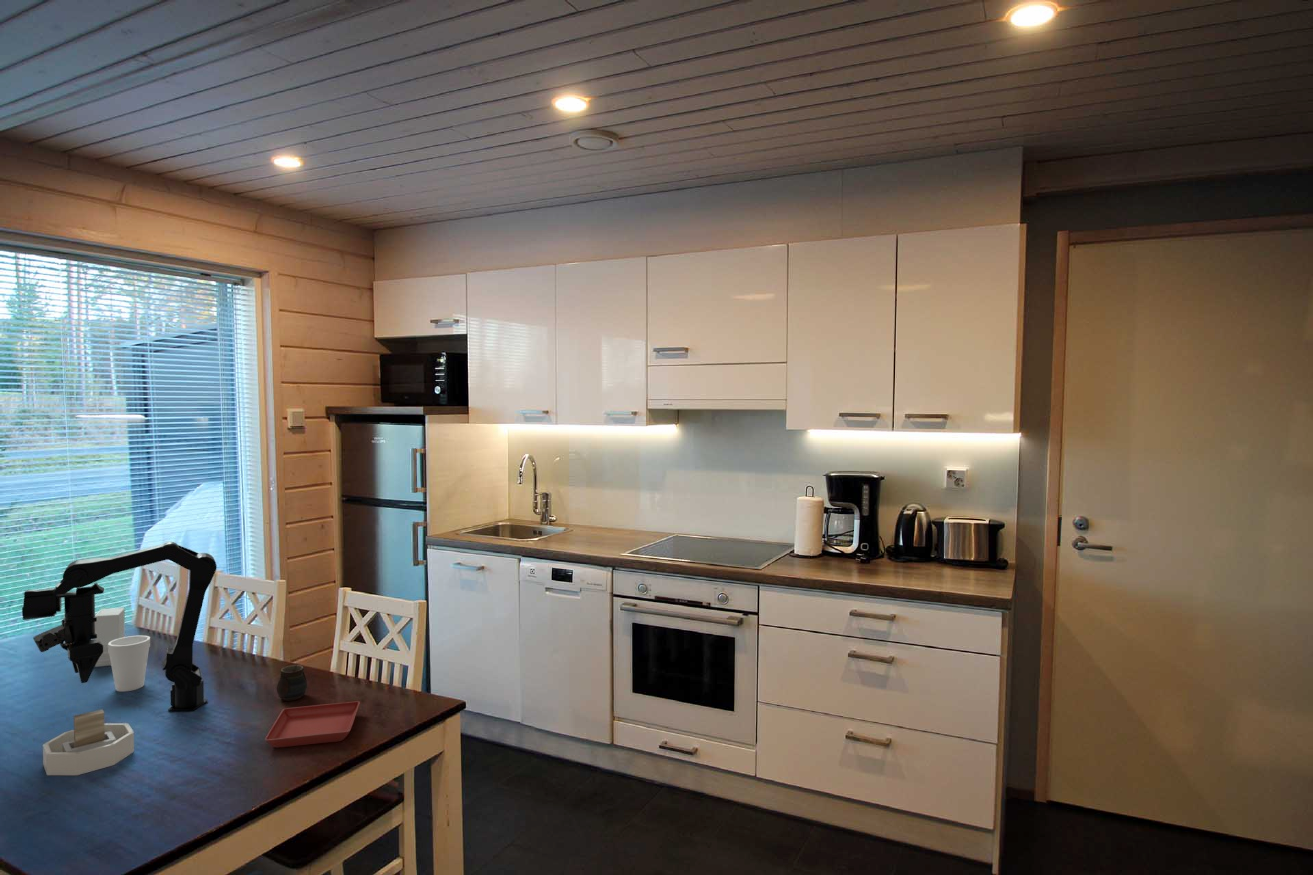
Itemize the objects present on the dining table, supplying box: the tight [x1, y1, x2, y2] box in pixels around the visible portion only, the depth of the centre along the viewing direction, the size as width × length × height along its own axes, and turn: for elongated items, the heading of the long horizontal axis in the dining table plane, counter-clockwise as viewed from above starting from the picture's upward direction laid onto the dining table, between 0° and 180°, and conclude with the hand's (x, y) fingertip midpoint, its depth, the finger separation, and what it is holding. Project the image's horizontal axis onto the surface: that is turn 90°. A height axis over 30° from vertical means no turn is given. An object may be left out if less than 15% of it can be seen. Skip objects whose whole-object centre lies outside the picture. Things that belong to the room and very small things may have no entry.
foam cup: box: [108, 635, 151, 692], centre depth 199 cm, size 10×9×13 cm
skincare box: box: [94, 606, 126, 668], centre depth 218 cm, size 8×7×16 cm
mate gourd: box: [276, 664, 308, 702], centre depth 193 cm, size 7×8×10 cm
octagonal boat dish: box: [42, 722, 135, 776], centre depth 158 cm, size 15×15×4 cm
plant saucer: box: [264, 700, 361, 748], centre depth 173 cm, size 18×18×3 cm
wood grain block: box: [73, 708, 105, 748], centre depth 158 cm, size 2×5×9 cm, turn 136°
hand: (81, 677), depth 174 cm, fingers open, 9 cm apart
